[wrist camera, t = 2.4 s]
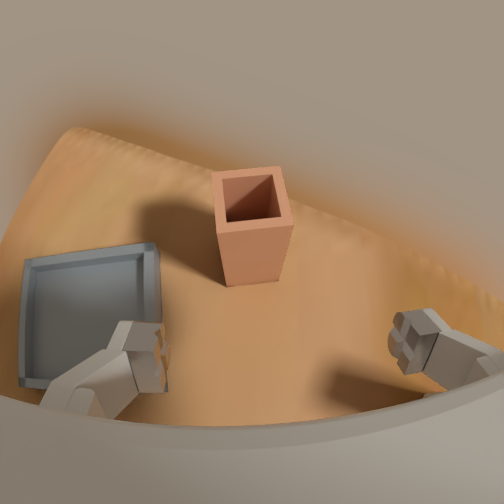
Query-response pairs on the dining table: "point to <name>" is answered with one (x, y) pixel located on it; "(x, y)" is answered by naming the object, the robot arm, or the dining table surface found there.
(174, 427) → the robot arm
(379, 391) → the dining table surface
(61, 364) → the tray
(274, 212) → the cup
